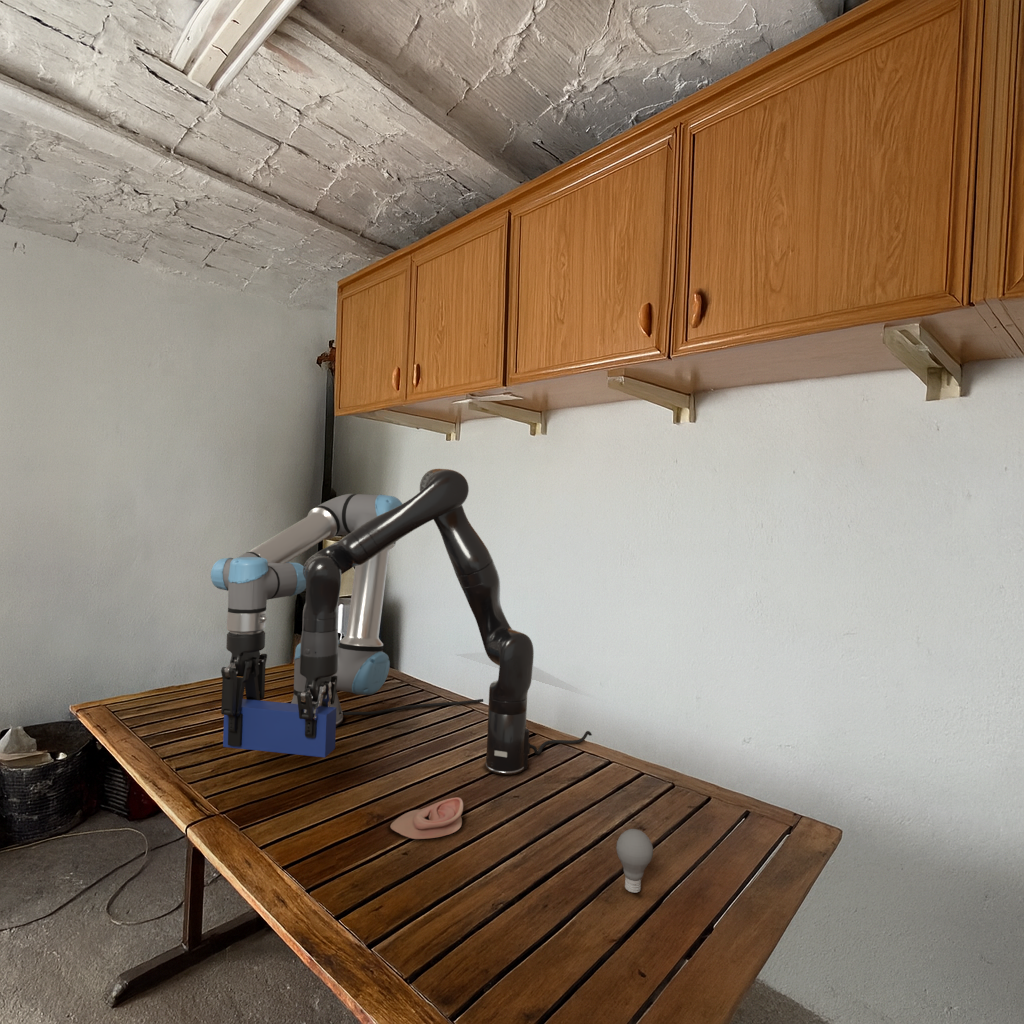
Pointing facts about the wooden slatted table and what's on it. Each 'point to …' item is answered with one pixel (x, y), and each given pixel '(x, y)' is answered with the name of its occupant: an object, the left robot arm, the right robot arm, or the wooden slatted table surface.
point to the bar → (283, 729)
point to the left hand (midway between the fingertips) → (242, 740)
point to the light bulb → (634, 857)
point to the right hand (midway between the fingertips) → (316, 731)
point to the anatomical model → (431, 820)
